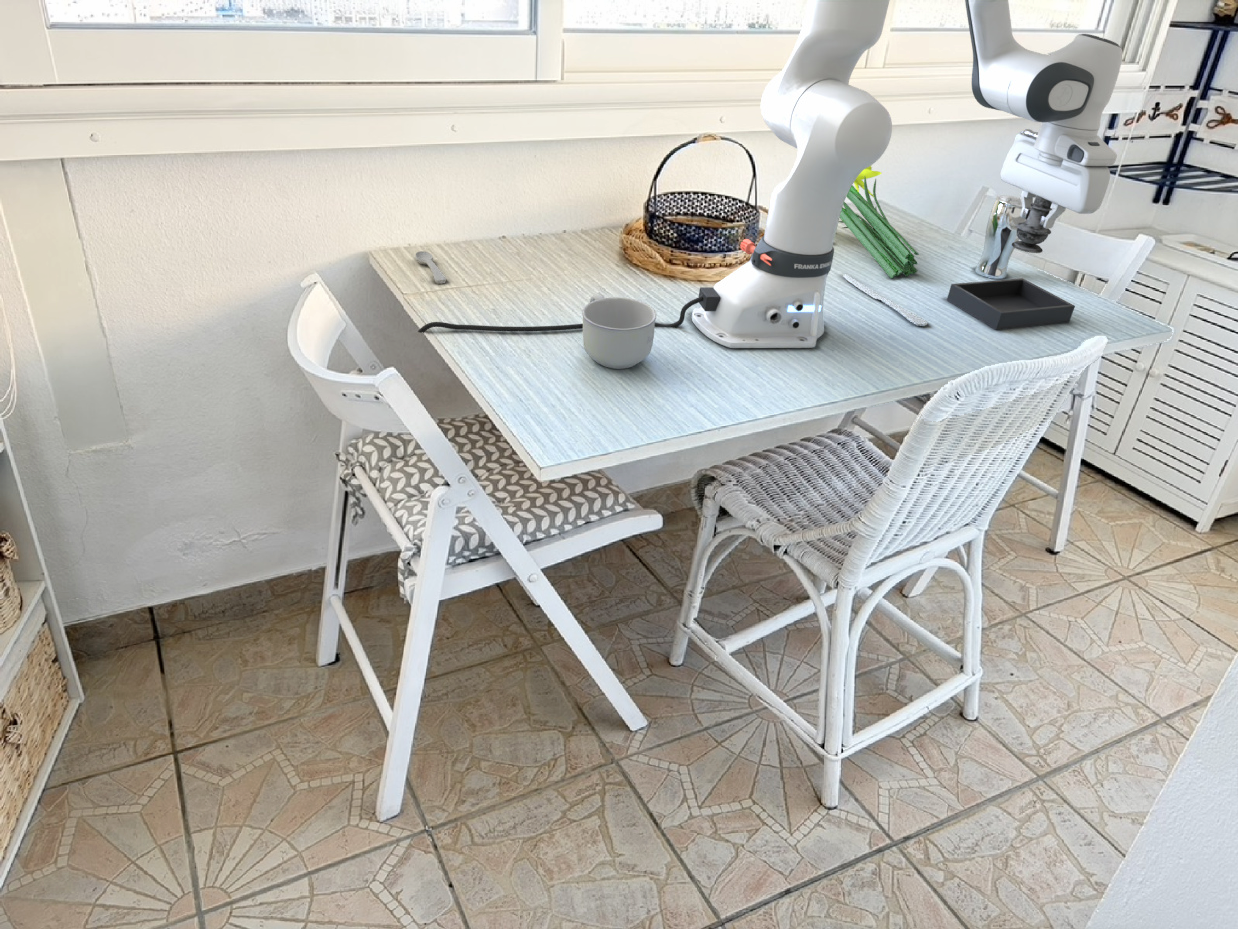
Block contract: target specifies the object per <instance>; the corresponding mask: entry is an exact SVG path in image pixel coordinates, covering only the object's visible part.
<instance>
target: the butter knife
mask: <svg viewBox="0 0 1238 929" xmlns="http://www.w3.org/2000/svg"><path fill="white" fill-rule="evenodd" d="M842 277H843V278H844V279H845V280H846V281H847V282H849V283H850V284H852V285H853V286H855V288H857V289H859V290H860V291H862V292H864V293H865V294H866V295H868V296H870V297H871V298H873V299H875V300H879V301H881V302H882V303H884V304H885V305H887V306H889V307H890V308H891V309H893V310H895V311H896V312H897V313H899V315H901V316H903V317H904V318H905V319H906V320H907V321H909V322H910V323H911V324H913V325H915V326H917V327H925V326H927V325H928V324H929V323H928V321H927V320H926V319H923V317H920V316H918V315H916V314H914V313H913V312H911V311H909V310H907V309H906V308H903V307H902V306H900V305H898V304H897V303H895V302H893V301H892V300H891V299H889V298H886V297H884V296H882V294H879V293H878V292H876V291H874V290H873V289H872V288H870V287H869V286H867V285H865V284H864V283H862V282H860V281H858V280H857V279H856V278H854V277H852V276H851V275H849V274H847V273H844V274H842Z"/></svg>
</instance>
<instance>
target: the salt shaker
mask: <svg viewBox="0 0 1238 929" xmlns="http://www.w3.org/2000/svg"><path fill="white" fill-rule="evenodd" d="M1051 204H1052V202H1051V201H1049V200H1046V199H1044V198H1041V197H1039V196H1037V195H1036V197H1035V198H1034V199H1033V204H1031V207H1032V208H1031V211H1030V213H1029V216H1028V218H1027V220H1026V221H1025V222H1023V223H1018V224H1017V225H1016V226H1017V227H1018V228H1017V236H1018V238H1019V241H1016V242H1013V243H1012V246H1013V247H1014V248H1015V249H1016V250H1018V251H1021V252H1024V253H1030V254H1040V253H1043V248H1042V247H1041V246H1040V244H1042V243H1044V242H1045V241H1046V240H1047V238H1048V237H1049V235H1051V234H1052V230H1051V228H1050V229H1046V228H1044V227H1042V226H1040V222H1041V218H1042V216H1047V215H1048V214H1049V213H1050V212H1051V211H1052V210H1053V209H1051V208H1050V207H1051Z"/></svg>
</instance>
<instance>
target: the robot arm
mask: <svg viewBox="0 0 1238 929" xmlns="http://www.w3.org/2000/svg"><path fill="white" fill-rule="evenodd" d="M890 1H891V0H807V5H806V9H805V14H804V18H803V22H802V26H801V28H800V32H799V35H798V38H797V40H796V42H795V45H794V47H793V49H792V52H791V53H790V55H789V56H788V59H787V61H786V63H785V65H784V67H783V68H782V70H781V71H780V72H779V73H778V74H776V75H775V76H774V77H773V78H771V80H770V81H769V82H768V84H767V85H766V86H765V89H764V91H763V93H762V97H761V101H760V113H761V118H762V119H763V121H764V123H765V125H766V126H767V128H769V130H770V131H771V132H772V133H773V134H774V135H775V136H776V137H777V139H779V140H780V141H782V142H784V143H785V144H787V145H789V146H791V147H793V148H795V149H797V153H796V154H797V155H796V159H795V162H794V165H793V167H792V169H791V171H790V173H789V175H788V176H787V178H786V179H784V180H782V181H781V182H779V183H778V184H777V185H776V186H775V187H774V189H773V190H772V192H771V196H770V201H769V207H768V212H767V218H766V224H765V229H764V233H763V234H764V235H763V236H762V237H761V238H760V239H759V241H758V243H757V245H756V243H754V242H753V241H752V240H750V239H749V238H745V239H743V240H742V241H741V242H740V244H739V246H740V249H741V251H743V252H745V254H747V255H750V258H749V260H748V261H747V262H745V263H744V264H742V265H741V266H740V267H738V268H737V269H735V270H734V271H732V272H731V273H729V274H728V275H727V276H725V277H724V278H722V279H720V280H719V281H718V282H716V283H715V284H714V285H713V287H705V286H703V287H701V286H700V287H699V291H698V297H696V298H694V299H691V300H690V301H688V302H686V303H685V304H684V306H682V308H681V310H680V314H679V319H678V320H676V321H675V322H673V323H669V324H667V323H666V324H665V323H659V322H655V327H657V328H677V327H679V326H681V325H682V324H683V323H684V321H685V316H686V312H687V310H689V308H691V307H692V306H694V305H696V304H699V305H700V307H696V308H694V309H692V313H691V321H692V323H693V325H694V326H695V327H696V328H697V329H698V330H699V331H700V332H701V333H702V334H703V335H705V336H706V337H707V338H708V339H710V340H712V341H713V342H715V343H717V344H719V345H721V346H724V347H727V348H729V349H811V348H815V347H816V346H817V340H818V339H819V338H820V337H822V336H823V334H824V333H825V325H824V323H825V322H824V302H825V293H826V292H825V291H826V284H827V277H828V275H829V273H830V272H831V268H832V264H833V259H834V255H835V248H834V243H835V242H834V241H835V237H836V234H837V230H838V225H839V223H840V222H839V221H840V213H841V210H842V207H843V208H844V205H843V203H844V202H846V198H847V197H846V196H847V194H848V192H849V190H850V188H851V186H852V185H853V184H854V181H855V180H856V178H857V177H858V175H859V174H860V173H861V172H862V171H863V170H864V169H866V168H867V167H869V166H871V167H872V165H874V164H875V163H876V162H878V160H880V158H881V157H882V156H883V155H884V153H885V152H886V150H887V148H888V146H889V144H890V141H891V138H892V135H893V134H892V133H893V121H892V117H891V115H890V113H889V110H888V109H887V108H886V107H885V106H884V105H883V104H882V103H881V102H880V101H879V100H878V99H877V98H875V97H874V96H873V95H872V94H870V93H869V92H868V91H866V90H864V89H861V88H858V87H856V86H854V85H850V79H851V76H852V74H853V71H854V70H855V67H856V66H857V64H858V62H859V60H860V59H861V57H862V56H863V54H864V53H865V52H866V51H868V50H869V49H871V48H873V46H874V45H876V44H877V42H878V41H879V40H880V38H881V36H882V34H883V30H884V26H885V21H886V18H887V13H888V9H889V5H890ZM1009 2H1010V1H1009V0H964V4H965V9H966V18H967V23H968V29H969V35H970V42H971V50H972V71H971V91H972V95H973V97H974V99H975V100H976V102H977V104H978V105H980V106H982V107H984V108H987V109H991V110H995V111H1001V112H1005V113H1007V114H1009V115H1013V116H1015V117H1019V118H1021V119H1024V120H1028V121H1031V122H1034V123H1041V124H1040V127H1039V130H1038V132H1037V131H1034V130H1032V129H1029V128H1025V129H1024V130H1021V131H1020V132H1018V133H1017V134H1016V135H1015V138H1014V141H1013V143H1012V145H1011V146H1010V149H1009V150H1008V153H1007V155H1006V157H1005V159H1004V162H1003V164H1002V166H1001V170H1000V172H999V174H1000V180H1001V181H1002V182H1004V183H1007V184H1009V185H1010V186H1013V187H1016V188H1018V189H1021V190H1022V191H1021V194H1020V198H1021V201H1022V207H1023V208H1022V211H1021V214H1020V217H1022V218H1024V219H1027V218H1028V216H1029V213H1030V211H1031V208H1032V207H1031V204H1033V203H1034V199H1035V198H1036V195H1037V196H1039V197H1041V198H1044V199H1046V200H1049V201H1051V202H1052V204H1051V207H1050V208H1051V209H1052V210H1051V211H1050V212H1049V214H1048V215H1047V216H1042V218H1041V222H1040V226H1042V227H1044V228H1046V229H1050V230H1051V229H1052V228H1054V225H1055V223H1056V220H1057V219H1058V218H1059V217H1060V216H1061V215H1062V214H1063V213H1065V211H1066V209H1067V210H1070V211H1072V212H1075V213H1077V214H1080V215H1081V214H1082V215H1089V214H1094V213H1095V212H1096V211H1098V210H1099V209H1100V207H1101V206H1102V203H1103V201H1104V199H1105V196H1106V194H1107V190H1108V187H1109V184H1110V179H1111V171H1110V168H1109V167H1111V166H1113V165H1114V164H1115V163H1116V160H1117V157H1118V155H1117V152H1115V150H1114V149H1112V148H1111V147H1110V146H1109V145H1108V144H1107V143H1106V142H1105V141H1104V140H1103V139H1102V138H1101V137H1100V136H1099V135H1098V133H1099V130H1100V127H1101V121H1102V120H1101V119H1102V114H1103V112H1104V110H1105V108H1106V107H1107V105H1108V104H1109V102H1110V100H1111V98H1112V95H1113V92H1114V90H1115V87H1116V84H1117V81H1118V78H1119V75H1120V70H1121V66H1122V61H1123V48H1122V47H1121V46H1120V45H1119V44H1118V43H1117V42H1115V41H1114V40H1111V39H1108V38H1103V37H1100V36H1097V35H1093V34H1088V33H1080V34H1077V35H1076V36H1075V37H1074V38H1073V40H1072V41H1071V42H1070V43H1067V45H1065V46H1063V47H1061V48H1059V49H1057V50H1055V51H1050V52H1048V53H1040V52H1037V51H1033V50H1030V49H1027V48H1026V47H1024V46H1022V45H1021V44H1020V43H1019V42H1017V40H1016V39H1015V38H1014V35H1013V30H1012V20H1011V19H1012V18H1011V11H1010V3H1009ZM432 328H444V329H449V330H459V331H460V330H461V331H485V332H510V333H511V332H515V333H516V332H520V333H521V332H523V333H524V332H526V333H527V332H553V331H568V330H580V329H582V330H583V323H574V324H560V325H559V324H558V325H540V326H539V325H537V326H534V325H533V326H532V325H531V326H503V325H502V326H500V325H499V326H498V325H480V324H479V325H478V324H456V323H448V322H444V321H431V322H428V323H426V324H424V325H423V326H421V327H420V328H419V329H418V330H417V333H425V332H427V331H428V330H429V329H432Z"/></svg>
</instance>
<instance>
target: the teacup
mask: <svg viewBox="0 0 1238 929" xmlns="http://www.w3.org/2000/svg"><path fill="white" fill-rule="evenodd" d="M581 315H582V324H583V328H582V342H583V347H584V350H585V352H586V354H587V356H589V357H590V359H592V360H594V361H595V362H596V363H597V364H598V365H601V366H603V367H605V368H609V369H614V370H615V369H616V370H621V369H622V370H623V369H628V368H632V367H634V366H636V365H638V364H639V363H641V362H643V361H644V360H646V358H647V357H648V356H649V355H650V353H651V350H652V348H653V344H654V337H655V327H656V326H655V323H656V320H657V313H656V310H655V309H654V308H653V307H652V306H651V305H650V304H648V303H646V302H644V301H642V300H638V299H634V298H629V297H618V296H615V297H605V296H604V295H603V294H601V293H596V294H593V295H592V296H591V297H590V299H589V303H587V304H586V305H584V307H583V308H582V312H581Z"/></svg>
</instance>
